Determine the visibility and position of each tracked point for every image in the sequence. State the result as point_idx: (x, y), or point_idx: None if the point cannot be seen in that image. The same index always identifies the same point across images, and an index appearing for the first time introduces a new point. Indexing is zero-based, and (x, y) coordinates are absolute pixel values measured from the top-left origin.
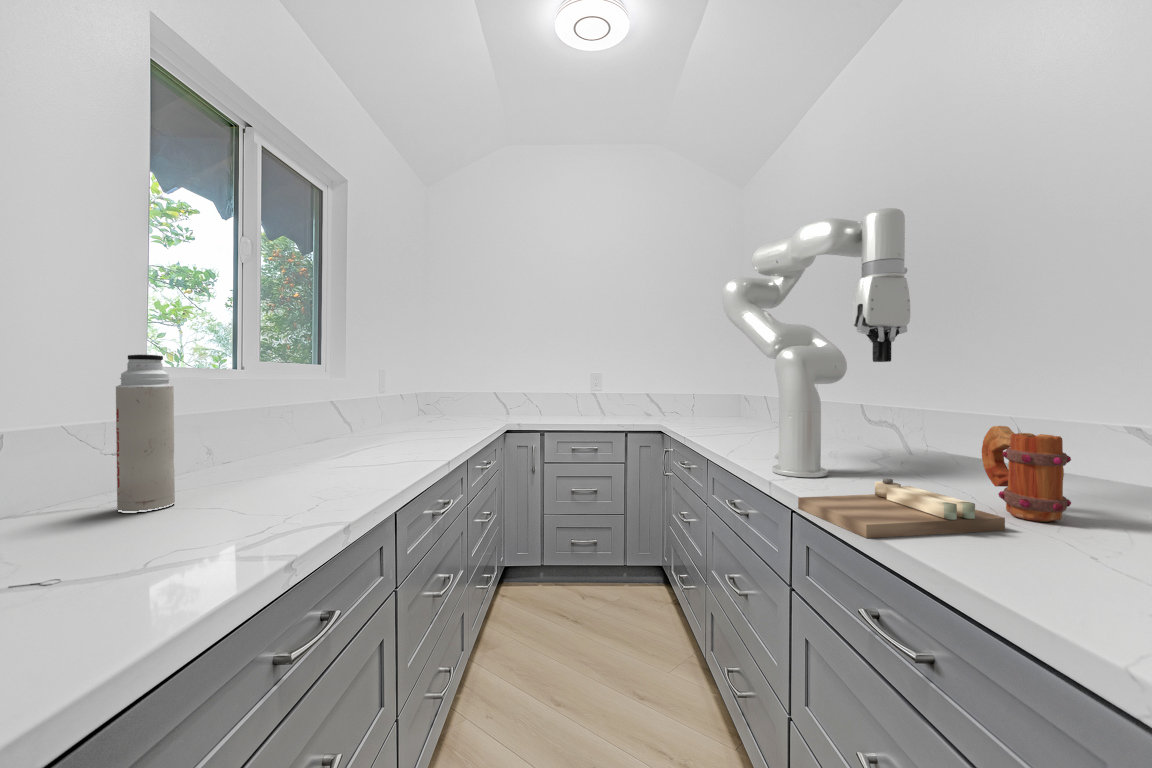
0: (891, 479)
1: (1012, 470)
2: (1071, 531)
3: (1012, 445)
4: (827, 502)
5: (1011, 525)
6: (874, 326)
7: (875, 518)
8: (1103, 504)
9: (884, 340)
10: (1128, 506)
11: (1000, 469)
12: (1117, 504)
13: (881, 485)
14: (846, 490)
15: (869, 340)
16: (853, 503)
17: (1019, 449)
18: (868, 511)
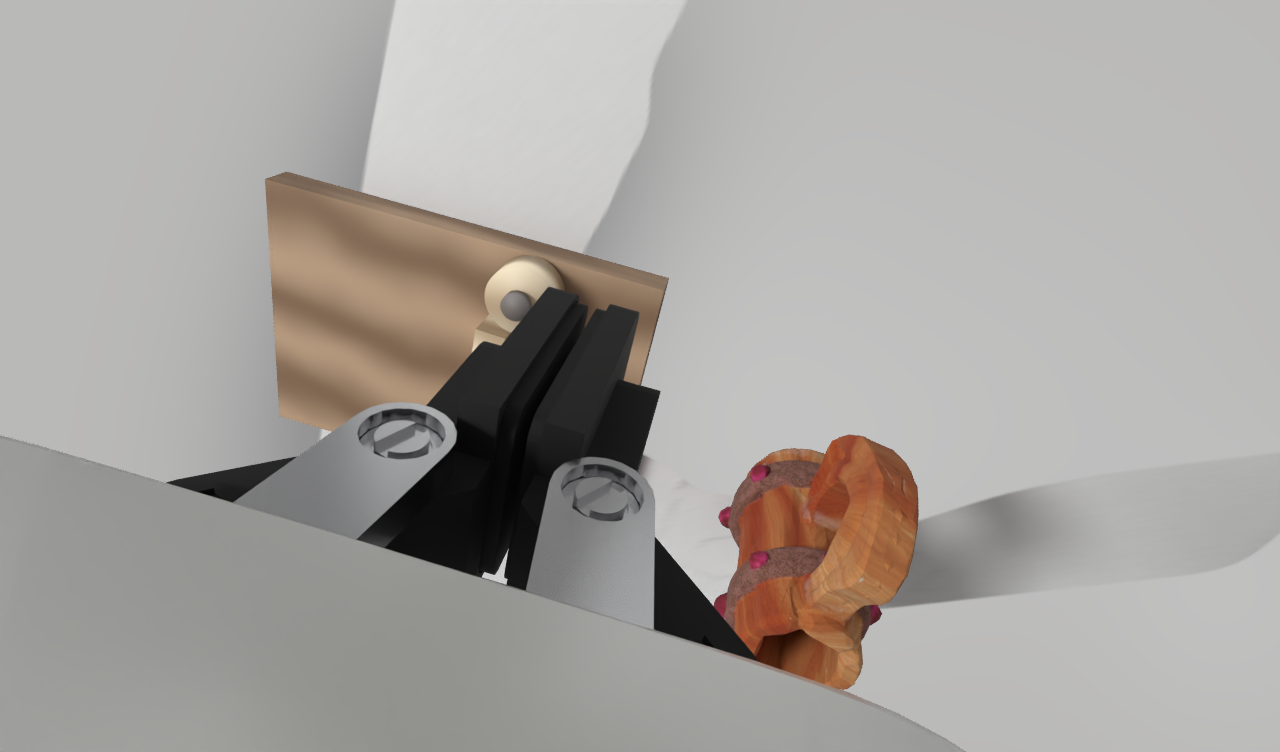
0: (522, 315)
1: (759, 540)
2: (737, 551)
3: (758, 597)
4: (312, 259)
5: (671, 485)
6: (421, 594)
7: (329, 399)
8: (1183, 517)
9: (514, 558)
10: (1209, 552)
11: (839, 485)
12: (1221, 534)
13: (487, 303)
14: (624, 37)
15: (364, 410)
16: (374, 296)
17: (738, 609)
18: (355, 359)
